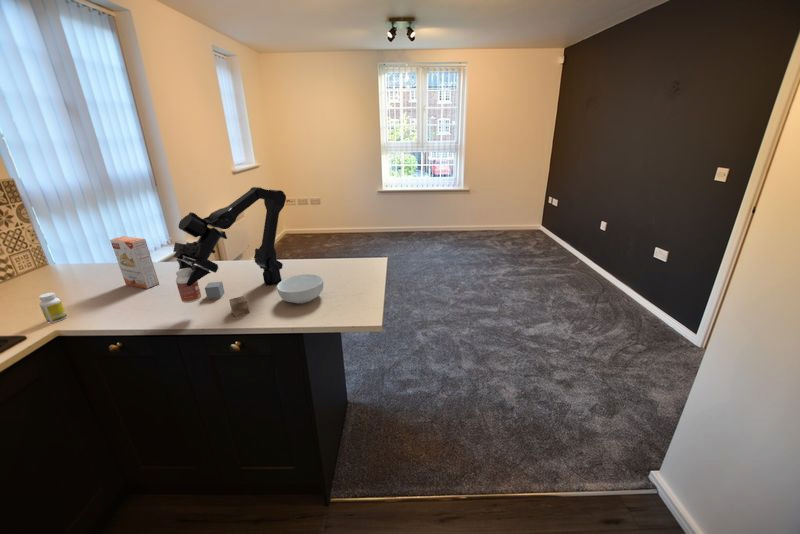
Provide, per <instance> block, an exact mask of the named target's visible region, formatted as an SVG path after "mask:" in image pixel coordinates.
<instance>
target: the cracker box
mask: <svg viewBox="0 0 800 534" xmlns="http://www.w3.org/2000/svg"><path fill="white" fill-rule="evenodd" d="M109 240H110V244H111V246H112V249H113V252H114V256H115V258H116V261H117V263H118V267H119V269H120V272H121V274H122V278H123V281H124V283H125V285H127V286H131V287H136V288H141V289H145V290H148V289H150V287H151V288H153V287H155V286H157V285H159V284H160V281H159V279H158V275H157V272H156V270H155V267H154V263H153V260H152V256H151V253H150V250H149V246H148V243H147V241H146V239H145V238H141V237H133V236H124V235H123V236H120V237H116V238H115V237H114V238H112V239H109Z"/></svg>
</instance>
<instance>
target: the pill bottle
mask: <svg viewBox="0 0 800 534" xmlns="http://www.w3.org/2000/svg"><path fill="white" fill-rule="evenodd" d="M192 271H193V270H192V269H191V268H183V269H179V268H178V269H177V270H176V271H175V274H176V276H177V277H176V279H175V283H176V286H177V290H178V292H179V297H180V300H181V302H182V303H184V304H185V303H186V304H190V303H195V302H197V301H199V300H201V298H202V293H201V290H200V289H201V288H200V286H199V282H198V281H199V280H198V281H196V282H195V283H194V284H192V285H191V286H187V285H186V284H187V282H188V279H189V277H190V275H191V273H192Z"/></svg>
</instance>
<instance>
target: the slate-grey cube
mask: <svg viewBox="0 0 800 534" xmlns="http://www.w3.org/2000/svg"><path fill="white" fill-rule="evenodd" d="M204 290H205V294H206V300H215V298H216V299H222V297H224V295H225V288H224V284H223V281H213V282H208V283H207V285H205V287H204Z"/></svg>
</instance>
